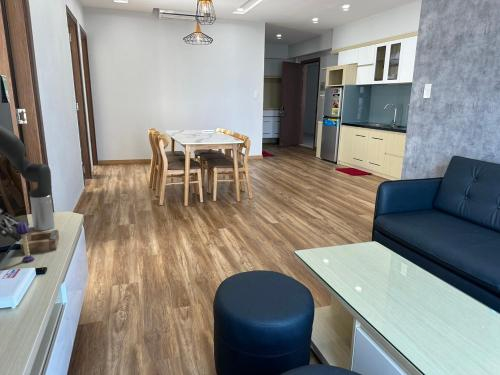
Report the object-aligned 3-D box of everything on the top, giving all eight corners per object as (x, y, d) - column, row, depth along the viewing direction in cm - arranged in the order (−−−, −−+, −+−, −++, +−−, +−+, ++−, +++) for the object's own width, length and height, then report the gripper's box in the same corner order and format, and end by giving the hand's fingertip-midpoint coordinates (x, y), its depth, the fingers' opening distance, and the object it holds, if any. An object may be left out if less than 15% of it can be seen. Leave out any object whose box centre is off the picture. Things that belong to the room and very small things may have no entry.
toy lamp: (29, 263, 142) (24, 225, 138) (17, 263, 142) (12, 224, 138) (36, 258, 147) (31, 220, 143) (25, 258, 147) (20, 220, 143)
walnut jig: (21, 254, 150) (20, 243, 149) (27, 242, 162) (26, 232, 161) (56, 250, 155) (54, 239, 154) (59, 239, 167) (58, 229, 165)
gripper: (-15, 209, 129) (25, 235, 136) (-3, 198, 142) (33, 222, 149) (-30, 224, 129) (11, 249, 135) (-16, 212, 141) (20, 235, 148)
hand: (23, 235), depth 142 cm, fingers open, 8 cm apart
